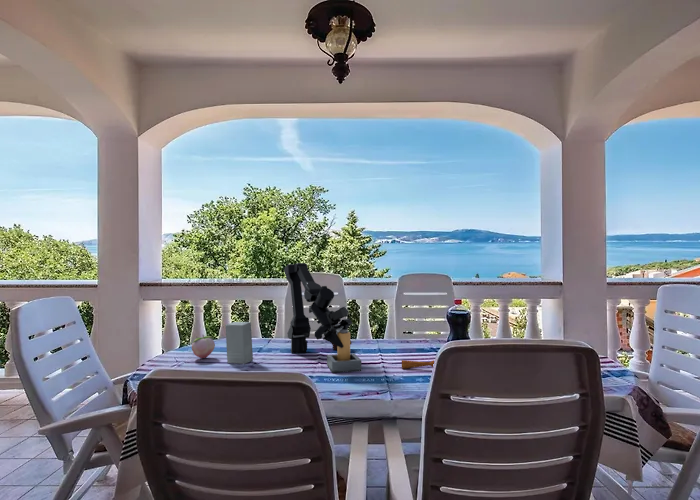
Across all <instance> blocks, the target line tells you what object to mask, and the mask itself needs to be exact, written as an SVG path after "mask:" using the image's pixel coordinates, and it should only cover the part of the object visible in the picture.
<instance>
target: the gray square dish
mask: <svg viewBox="0 0 700 500" xmlns="http://www.w3.org/2000/svg"><path fill="white" fill-rule="evenodd" d="M326 366H327V367H328V369H329V370H330V372H331V373H332V374H337V373H338V374H340V373H351V372H352V373H354V372H362V359H361V358H360V357H359V356H358V355H357V354H356V353H350V360H340V361H337V353H336V354H326Z"/></svg>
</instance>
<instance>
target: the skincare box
mask: <svg viewBox="0 0 700 500" xmlns="http://www.w3.org/2000/svg"><path fill="white" fill-rule="evenodd" d="M224 327H225V343H226V344H225V345H226V359H227V362H226V363H227V364H239V365H246V364H247V363H250V362H253V359H254V356H253V355H254V354H253V337H252V322H250V321H233V322H229V323H227V324H225V326H224Z"/></svg>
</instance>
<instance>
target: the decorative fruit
mask: <svg viewBox="0 0 700 500" xmlns="http://www.w3.org/2000/svg"><path fill="white" fill-rule="evenodd" d="M215 348H216V343H215V341H214V336H210V335H205V336H204V334H202V337H197V338H195V339H194V340H193V341H192V343H191V351H192V353H193V355H194V356H195V357H197V358H199V359H202V358H204V359H206V358H207V357H208V356H210V355H211V354H212V353H213V351H214V350H215Z"/></svg>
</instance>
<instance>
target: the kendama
mask: <svg viewBox="0 0 700 500" xmlns="http://www.w3.org/2000/svg"><path fill="white" fill-rule="evenodd" d="M434 360H435V359H434ZM434 360H432V361H429V362H427V361H415V360H407V359H405V360H404V359H402V360H401V369H402V370H407V369H413V368H421V367H429V366H430V367H433V364H434ZM433 368H434V367H433Z"/></svg>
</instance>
